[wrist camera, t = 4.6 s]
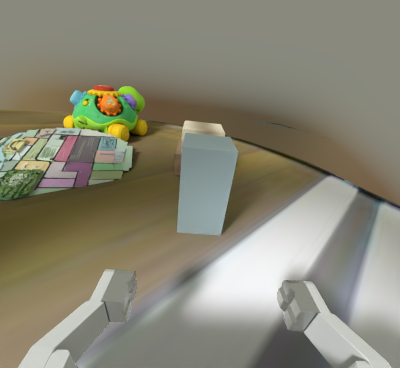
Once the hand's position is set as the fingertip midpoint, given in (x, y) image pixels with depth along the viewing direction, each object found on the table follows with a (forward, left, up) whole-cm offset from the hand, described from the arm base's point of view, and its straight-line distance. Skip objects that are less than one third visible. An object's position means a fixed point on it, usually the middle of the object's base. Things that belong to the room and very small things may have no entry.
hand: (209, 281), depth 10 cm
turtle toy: (-24, +47, -6) cm, 53 cm away
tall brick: (0, +12, -6) cm, 13 cm away
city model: (-24, +24, -6) cm, 34 cm away
